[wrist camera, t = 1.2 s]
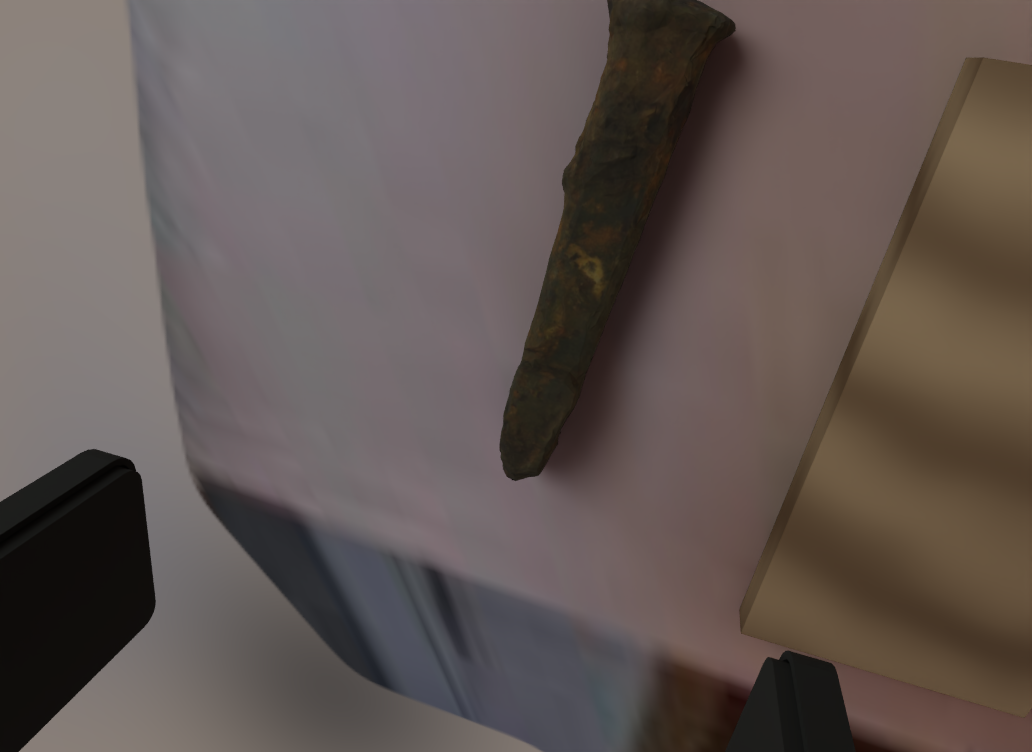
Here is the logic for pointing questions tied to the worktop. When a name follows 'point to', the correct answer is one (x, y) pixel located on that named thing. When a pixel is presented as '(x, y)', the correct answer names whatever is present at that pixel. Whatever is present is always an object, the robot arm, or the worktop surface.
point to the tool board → (928, 434)
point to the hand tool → (605, 209)
